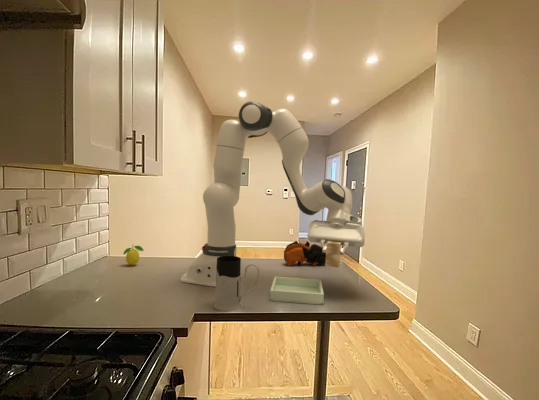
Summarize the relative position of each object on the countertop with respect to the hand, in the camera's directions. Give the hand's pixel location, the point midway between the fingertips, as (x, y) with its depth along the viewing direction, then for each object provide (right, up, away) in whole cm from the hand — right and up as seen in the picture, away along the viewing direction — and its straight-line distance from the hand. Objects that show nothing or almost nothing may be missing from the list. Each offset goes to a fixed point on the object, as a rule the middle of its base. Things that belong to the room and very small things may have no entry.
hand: (333, 253), depth 104 cm
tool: (-3, -14, +44) cm, 46 cm away
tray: (-12, -15, +3) cm, 20 cm away
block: (0, -4, +1) cm, 4 cm away
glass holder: (-33, -15, -9) cm, 37 cm away
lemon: (-84, -12, +33) cm, 91 cm away
